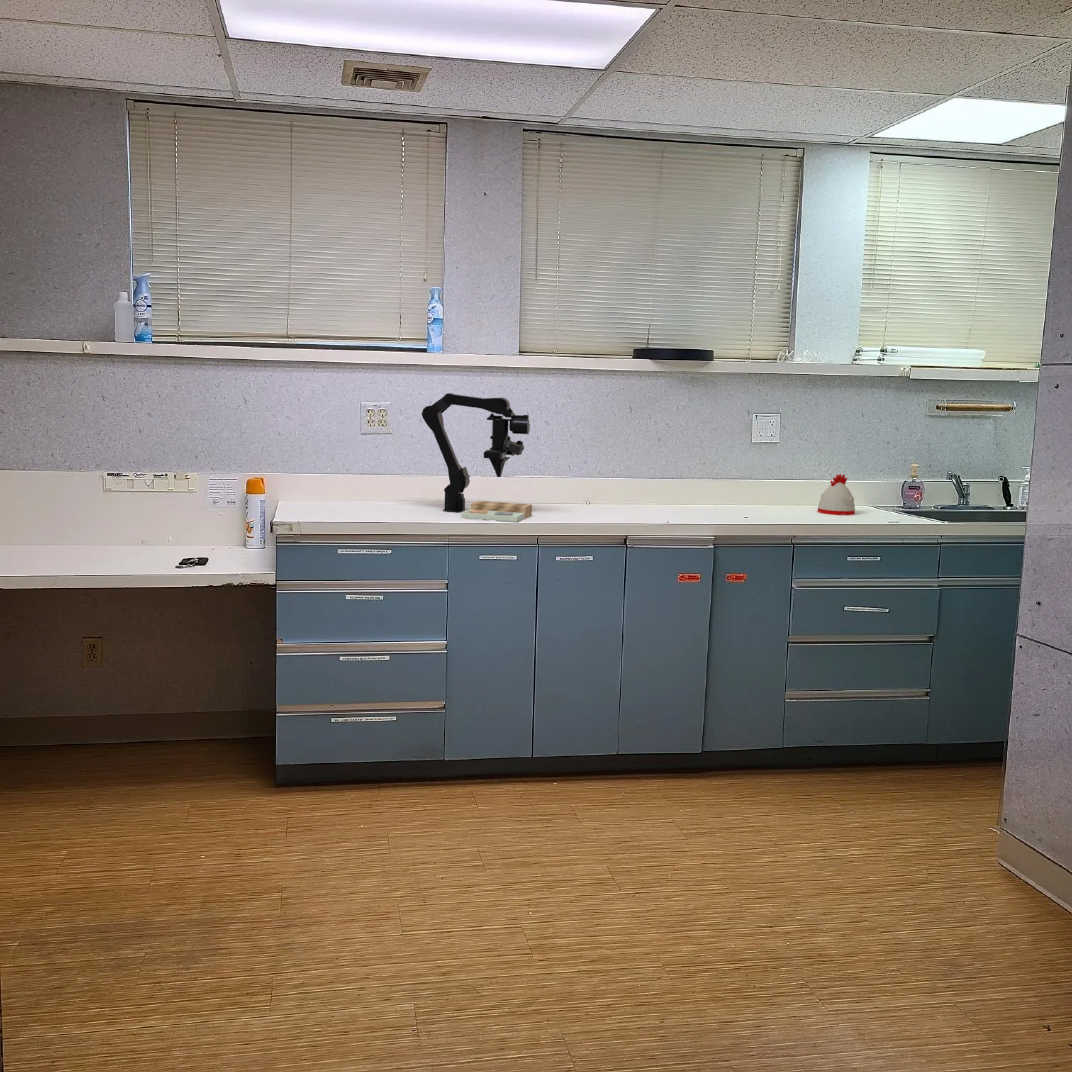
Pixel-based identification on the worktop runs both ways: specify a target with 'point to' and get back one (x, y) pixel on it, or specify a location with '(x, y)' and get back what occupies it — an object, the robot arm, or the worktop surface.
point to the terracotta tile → (479, 511)
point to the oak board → (503, 507)
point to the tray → (493, 516)
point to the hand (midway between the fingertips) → (499, 477)
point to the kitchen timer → (837, 498)
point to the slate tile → (504, 513)
